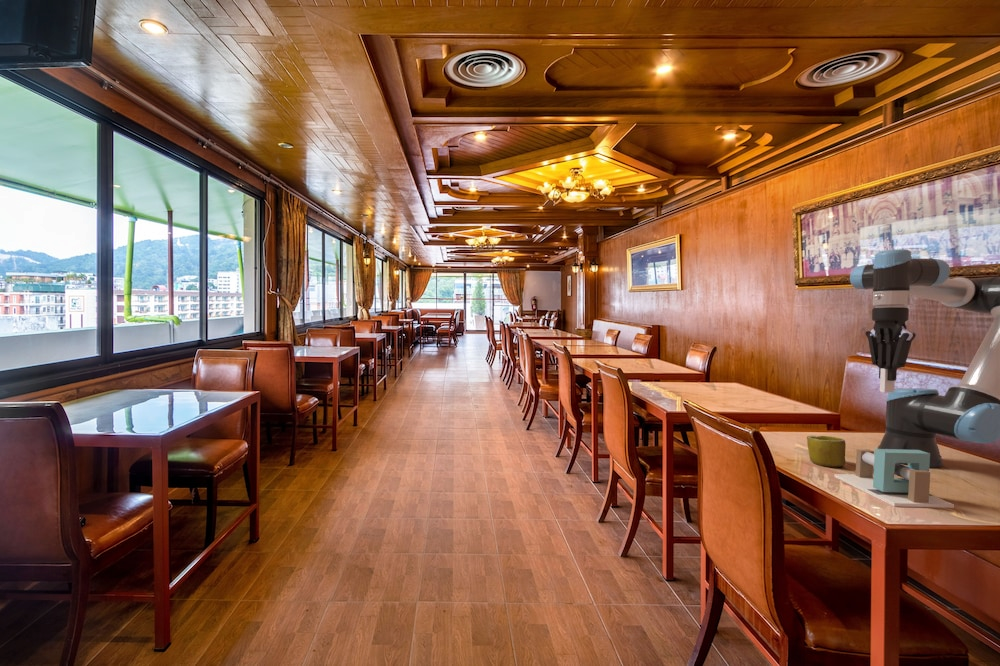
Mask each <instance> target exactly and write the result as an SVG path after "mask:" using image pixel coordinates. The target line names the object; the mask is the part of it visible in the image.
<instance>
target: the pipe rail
mask: <svg viewBox="0 0 1000 666" xmlns="http://www.w3.org/2000/svg"><path fill="white" fill-rule="evenodd" d="M874 458H875V450H871V449H856V457H855V474H852V473H851V474H847V473H839V474H838V473H834V474H833V475H834V476H833V477H834V478H836V479H837V480H839V481H842V482H844V483H846V484H848V485H850V486H852V487H854V488H856V489H858V490H860V491H861V492H862V491H863V492H864V493H866V494H869V495H871V496H872V497H874V498H876V499H879V500H881V501H883V502H885V503H886V504H889V505H890V506H893V507H897V508H898V507H902V508H903V507H904V508H943V509H948V508H949V509H954V508H955V504H954V503H951V502H949V501H947V500H944V499H942V498H940V497H938V496H935V495H933V494H930V485H931V471H929V472H928V471H925V470H915V469H912V468H909V467H908V465H905V464H902V463H895V469H894V476H897V477H900V478H904V479H907V480H909V492H908V493H903V492H882V491H880V490H878V489H876V488H874V487H873V477H874Z"/></svg>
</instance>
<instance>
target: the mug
mask: <svg viewBox="0 0 1000 666" xmlns="http://www.w3.org/2000/svg"><path fill="white" fill-rule="evenodd" d="M806 441H807V448H808V455H809V461H810V462H812V463H813V464H815V465H818V466H820V467H830V468H831V467H832V468H836V467H837V468H839V467H844V466H846V448H847V447H846V440H845V439H844V438H841V437H836V436H831V435H830V436H829V435H819V436H816V435H814V434H811V435H807V436H806Z"/></svg>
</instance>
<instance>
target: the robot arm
mask: <svg viewBox="0 0 1000 666" xmlns="http://www.w3.org/2000/svg"><path fill="white" fill-rule="evenodd" d="M950 275H951V267H950V265H949V263H947V262H946V261H944V260H943V259H939V258H938V259H937V258H932V257H930V258H912V252H911V250H909V249H904V248H902V249H889V250H888V249H887V250H881V251H879V252H877V253H875V254H874V261H873V263H871V264H869V263H868V264H864V265H858V266H856V267H855V268H853V269H852V270H851V271H850V275H849V282H850V284H851V286H852V287H853V288H855V289H856V290H871V289H872V292H873V293H872V306H874V307H873V308H872V310H871V320H872V321H873V322H874V325H873V328H872V329H871V330H869V331H868V330H867V331H865V332H864V333H865V336H866V338H867V340H868V341H867V342H868V345H869V351H870V358H871V359H870V360H871V364H872V365H873V366H876V367H877V368H878V379H879V392H881V393H887V397H886V400H885V402H886V411H885V432H884V434H883V436H882V439H881V441H880V443H879V445H878V446H877V448H876V449H902V450H921V451H924V452H927V453H930V465H929V468H940V467H942V466H943V457H942V455H941V453H940V449H939V446H938V443H937V439H936V435H940V436H944V437H945V436H946V437H949V438H954V439H957V440H960V441H962V442H963V441H964V442H969V443H971V442H972V443H978V444H984V445H985V444H989V443H995V442H996V441H998V440H999V439H1000V276H989V277H977V278H976V277H975V278H966V277H960V276H959V277H953V278H949V277H950ZM910 297H916V298H921V299H925V300H930V301H935V302H940V303H941V304H942V305H943V306H946V307H948V308H954V309H959V310H964V311H969V312H974V313H980V314H987V315H989V314H990V315H991V316H992V317H993V318H994V319H993V321H992V323H991V325H990V327H989V328H988V330H987V332H986V334H985V336H984V338H983V339H982V341H981V343H980V345H979V347H978V349H977V351H976V353H975V354H974V356H973V358H972V360H971V362H970V364H969V365H968V367H967V369H966V371H965V373H964V375H963V377H962V379H960V382H959V384H957V385H951V386H950V387H948V389H947V392H946V393H945V395H940V393H939V391H938V390H937V389H934V388H908V387H907V388H904V387H903V388H902V387H901V388H900V387H898V388H896V387H895V383H896V381H897V373H898V369H901V368H905V367H906V363H907V360H908V355H909V352H910V349H911V346H912V341H913V340H914V339H915V338H916V337H917V336H916V335H917V334H916V333H915V332H910V331H909V330H907V325H906V322H908V321H909V315H910V314H909V311H910V309H909V307H907V306H909V305H910ZM901 465H906V466H908V463H901Z"/></svg>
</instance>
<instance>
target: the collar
mask: <svg viewBox="0 0 1000 666" xmlns="http://www.w3.org/2000/svg"><path fill="white" fill-rule="evenodd" d="M874 454H875V458H874V466H873V475H874V477H873V487H874V488H876V489H878V490H880V491H882V492H903V493H908V492H909V480H907V479H904V478H902V477H900V478H899V477H898V478H897V477H895V474H894V469H895V463H899V464H902V463H908V465H907V467H909V468H912V469H915V470H925V471H928V472H930V467H929V465H930V453H927V452H924V451H921V450H902V449H877V448H875V449H874Z"/></svg>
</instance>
